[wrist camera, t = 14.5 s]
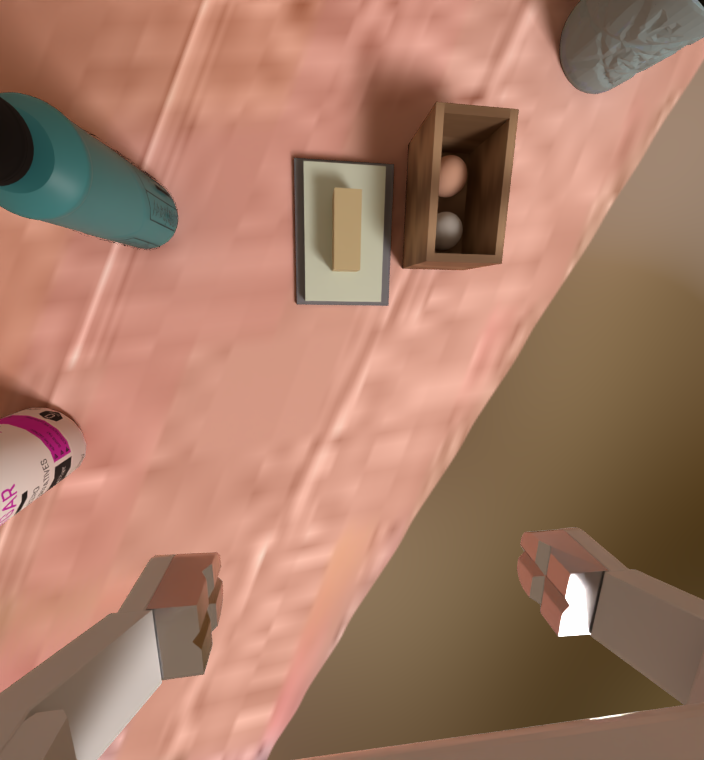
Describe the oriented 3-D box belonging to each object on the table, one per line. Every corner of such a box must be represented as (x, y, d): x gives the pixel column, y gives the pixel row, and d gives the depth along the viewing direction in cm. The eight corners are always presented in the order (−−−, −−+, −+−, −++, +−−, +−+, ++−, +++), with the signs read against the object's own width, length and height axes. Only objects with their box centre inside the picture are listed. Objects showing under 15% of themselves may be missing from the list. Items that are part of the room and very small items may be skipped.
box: (408, 144, 35) (436, 102, 27) (473, 149, 36) (518, 109, 28) (402, 268, 38) (426, 261, 30) (463, 270, 39) (501, 263, 31)
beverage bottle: (197, 206, 34) (52, 88, 15) (169, 266, 35) (-2, 230, 16) (131, 166, 33) (-124, -21, 13) (103, 231, 34) (-172, 142, 14)
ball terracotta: (425, 161, 35) (438, 147, 32) (459, 164, 35) (475, 149, 32) (423, 200, 36) (435, 190, 32) (456, 202, 36) (472, 192, 33)
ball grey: (422, 215, 36) (434, 206, 33) (455, 216, 37) (470, 208, 33) (420, 251, 37) (431, 247, 34) (452, 252, 37) (467, 248, 34)
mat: (294, 159, 34) (294, 157, 34) (392, 165, 35) (393, 164, 35) (297, 304, 37) (296, 304, 37) (387, 305, 39) (388, 305, 38)
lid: (303, 165, 34) (303, 147, 30) (383, 170, 35) (393, 153, 31) (305, 300, 37) (305, 301, 33) (378, 301, 38) (387, 302, 34)
